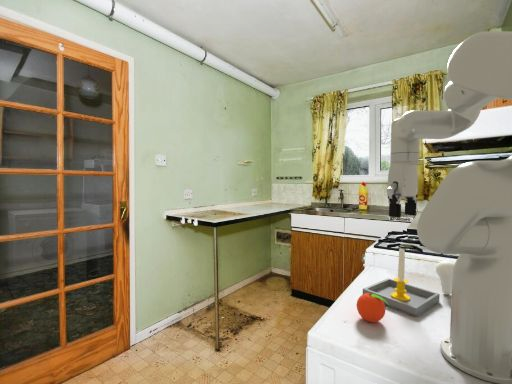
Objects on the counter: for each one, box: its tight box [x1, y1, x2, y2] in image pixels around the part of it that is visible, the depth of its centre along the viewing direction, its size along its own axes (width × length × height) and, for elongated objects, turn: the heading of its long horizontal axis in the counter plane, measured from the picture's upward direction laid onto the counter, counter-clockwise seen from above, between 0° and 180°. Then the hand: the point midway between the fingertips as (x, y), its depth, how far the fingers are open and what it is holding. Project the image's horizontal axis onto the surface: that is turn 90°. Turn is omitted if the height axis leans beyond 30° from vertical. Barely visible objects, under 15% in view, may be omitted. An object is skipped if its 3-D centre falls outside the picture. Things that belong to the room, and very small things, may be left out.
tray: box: [362, 278, 441, 318], centre depth 81 cm, size 16×16×2 cm
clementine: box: [356, 293, 391, 323], centre depth 68 cm, size 8×7×7 cm
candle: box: [391, 248, 410, 301], centre depth 80 cm, size 5×5×16 cm
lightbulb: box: [435, 260, 455, 296], centre depth 84 cm, size 6×6×11 cm
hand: (402, 216), depth 80 cm, fingers open, 9 cm apart
